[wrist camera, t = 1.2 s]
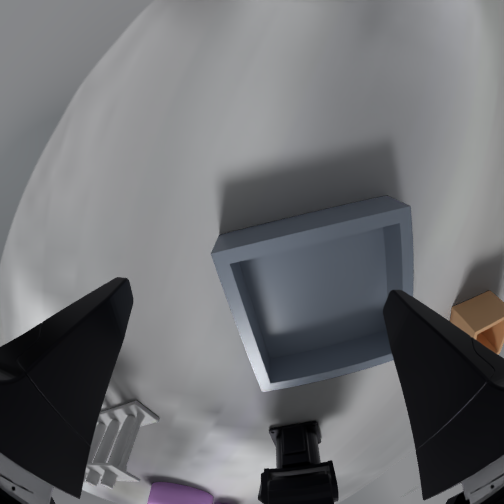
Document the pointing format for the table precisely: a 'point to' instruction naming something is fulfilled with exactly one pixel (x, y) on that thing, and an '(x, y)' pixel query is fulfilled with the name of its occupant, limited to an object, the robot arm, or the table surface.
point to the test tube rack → (110, 423)
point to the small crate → (482, 319)
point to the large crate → (317, 289)
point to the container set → (177, 494)
